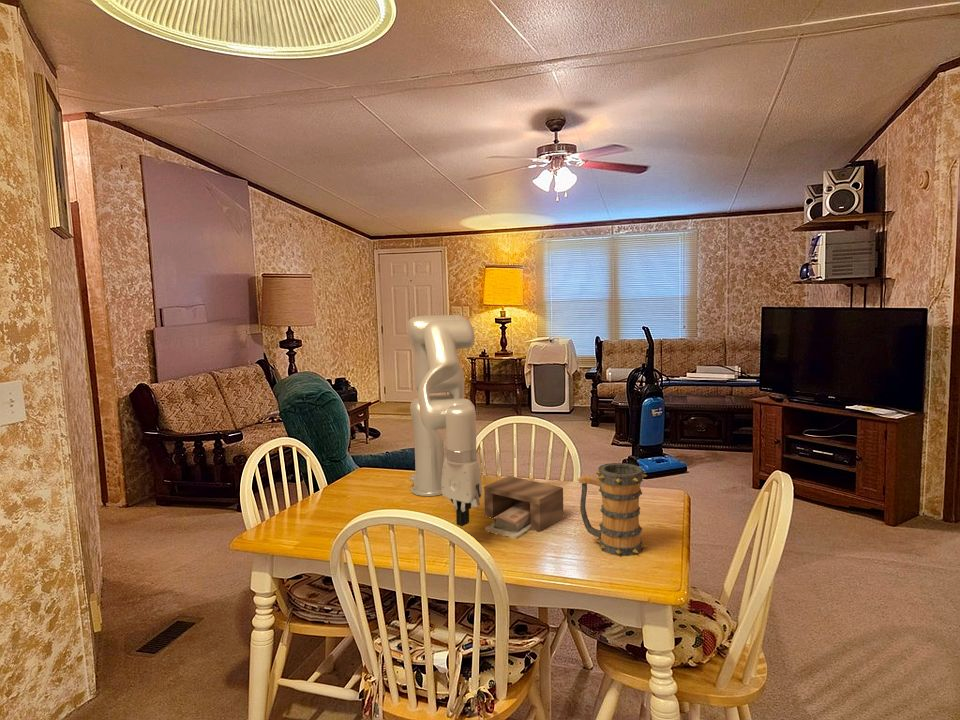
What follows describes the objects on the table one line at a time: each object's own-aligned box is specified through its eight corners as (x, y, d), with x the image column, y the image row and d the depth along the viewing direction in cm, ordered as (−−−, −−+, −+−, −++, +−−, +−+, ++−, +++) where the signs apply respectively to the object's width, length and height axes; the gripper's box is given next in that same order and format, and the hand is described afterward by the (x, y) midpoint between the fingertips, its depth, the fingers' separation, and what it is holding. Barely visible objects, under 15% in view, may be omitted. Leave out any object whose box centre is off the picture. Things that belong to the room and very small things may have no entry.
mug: (646, 560, 138) (646, 478, 136) (573, 553, 144) (572, 473, 142) (648, 539, 151) (648, 463, 149) (580, 532, 156) (580, 459, 154)
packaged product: (518, 496, 173) (548, 502, 167) (518, 512, 173) (548, 518, 168) (484, 516, 158) (516, 523, 152) (484, 533, 158) (516, 541, 153)
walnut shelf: (484, 516, 169) (484, 486, 168) (509, 504, 178) (508, 476, 178) (540, 531, 157) (539, 499, 156) (563, 518, 166) (563, 487, 166)
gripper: (429, 452, 149) (431, 521, 151) (474, 464, 139) (476, 537, 142) (449, 446, 155) (450, 512, 157) (494, 456, 145) (495, 526, 148)
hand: (462, 523), depth 150 cm, fingers closed
